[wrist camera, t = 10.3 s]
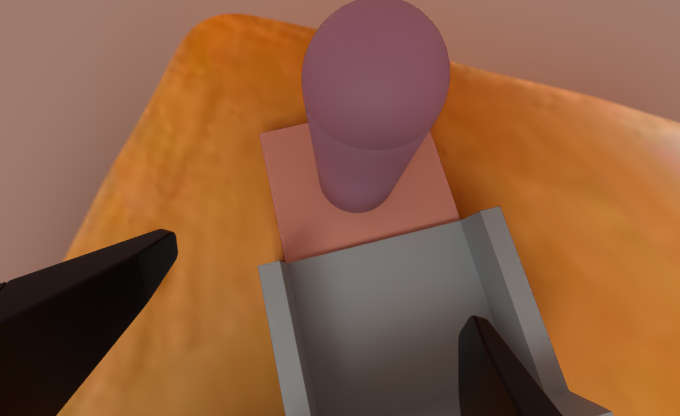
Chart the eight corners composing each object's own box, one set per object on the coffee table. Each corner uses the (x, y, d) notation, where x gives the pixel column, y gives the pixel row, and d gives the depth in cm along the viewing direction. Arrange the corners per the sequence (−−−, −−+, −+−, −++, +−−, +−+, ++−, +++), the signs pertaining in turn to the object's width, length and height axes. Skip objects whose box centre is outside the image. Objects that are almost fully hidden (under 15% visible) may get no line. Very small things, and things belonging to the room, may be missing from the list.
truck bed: (309, 447, 19) (293, 543, 12) (250, 143, 23) (213, 87, 16) (524, 386, 20) (624, 442, 13) (427, 104, 24) (462, 34, 17)
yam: (352, 228, 21) (376, 148, 8) (303, 171, 21) (254, 15, 9) (409, 181, 21) (516, 37, 9) (360, 128, 22) (391, -75, 9)
